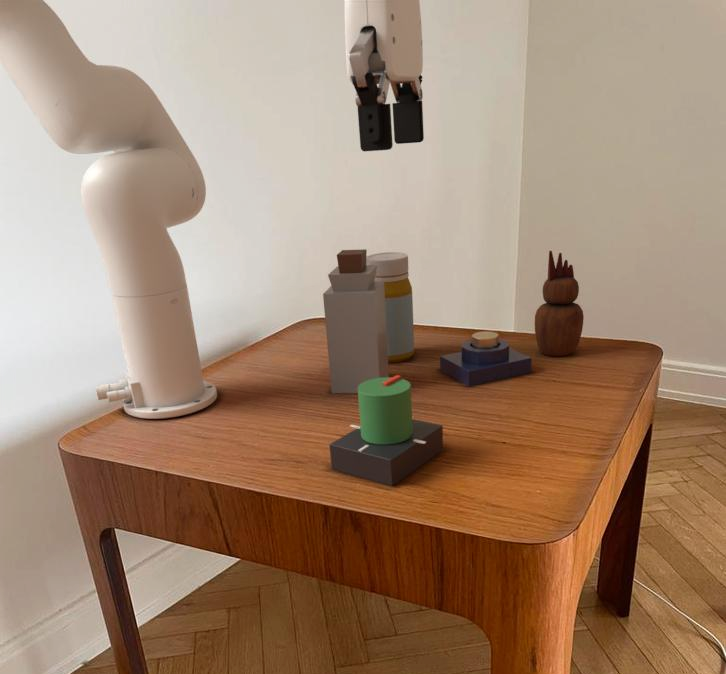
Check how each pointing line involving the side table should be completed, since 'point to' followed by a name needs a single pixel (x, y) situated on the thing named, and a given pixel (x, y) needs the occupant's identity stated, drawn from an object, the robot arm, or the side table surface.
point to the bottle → (396, 303)
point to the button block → (484, 363)
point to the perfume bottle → (355, 323)
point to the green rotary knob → (385, 410)
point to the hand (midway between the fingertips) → (393, 146)
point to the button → (485, 340)
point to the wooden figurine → (559, 311)
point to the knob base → (386, 454)
